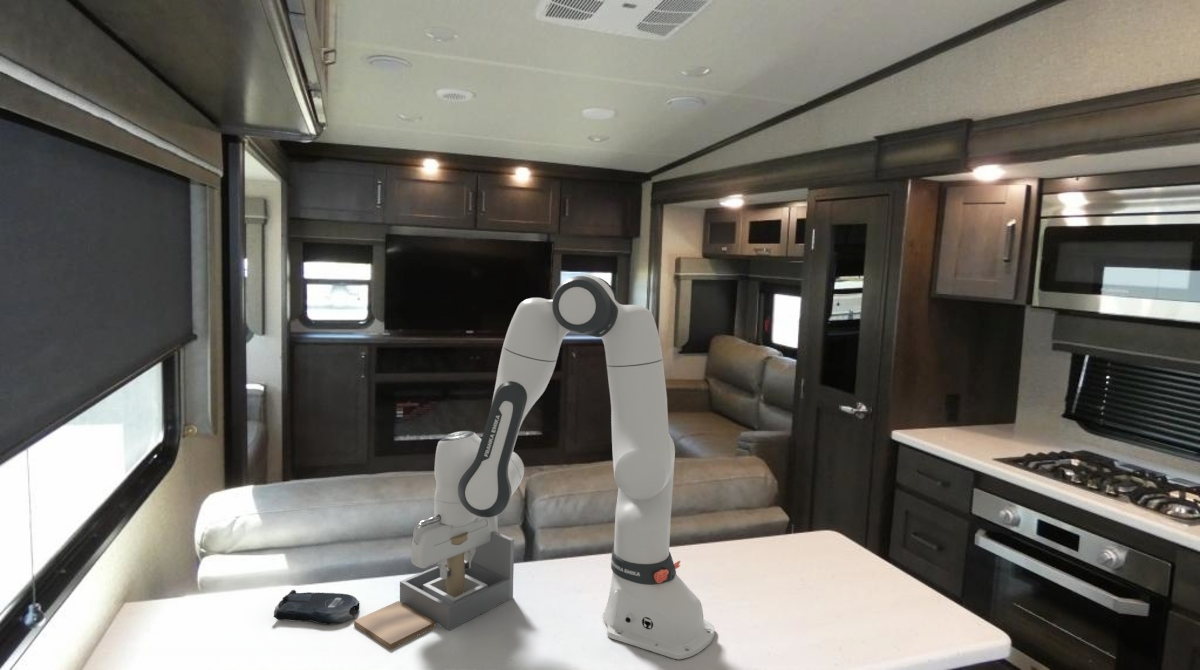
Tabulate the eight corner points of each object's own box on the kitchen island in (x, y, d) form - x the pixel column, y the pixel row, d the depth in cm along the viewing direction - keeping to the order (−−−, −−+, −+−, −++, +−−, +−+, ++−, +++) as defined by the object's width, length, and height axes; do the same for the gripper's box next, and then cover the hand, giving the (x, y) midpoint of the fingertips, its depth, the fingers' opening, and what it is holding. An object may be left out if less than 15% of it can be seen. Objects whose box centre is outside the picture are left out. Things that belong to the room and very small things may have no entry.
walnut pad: (435, 626, 128) (435, 622, 128) (390, 649, 121) (390, 644, 120) (398, 605, 136) (398, 600, 136) (354, 625, 128) (354, 620, 128)
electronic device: (272, 633, 127) (349, 626, 127) (269, 604, 127) (346, 597, 127) (295, 614, 137) (367, 607, 136) (293, 587, 137) (364, 580, 137)
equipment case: (512, 597, 141) (514, 539, 139) (449, 630, 127) (449, 566, 126) (463, 573, 150) (464, 518, 149) (399, 602, 137) (399, 542, 136)
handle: (440, 608, 135) (441, 538, 134) (446, 592, 142) (446, 525, 140) (464, 608, 135) (465, 538, 134) (469, 593, 142) (469, 526, 140)
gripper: (423, 528, 126) (423, 596, 128) (502, 500, 142) (501, 561, 144) (404, 519, 130) (404, 586, 132) (482, 493, 146) (482, 552, 148)
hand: (455, 573), depth 138 cm, fingers closed on handle, 4 cm apart
